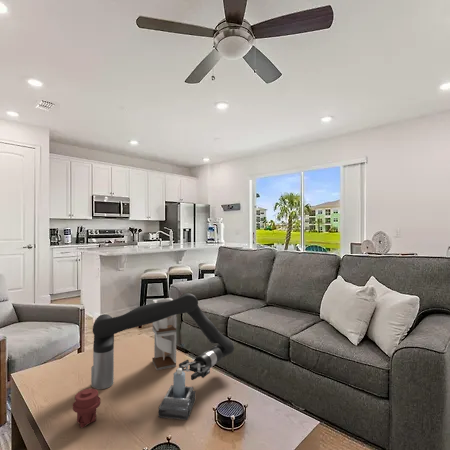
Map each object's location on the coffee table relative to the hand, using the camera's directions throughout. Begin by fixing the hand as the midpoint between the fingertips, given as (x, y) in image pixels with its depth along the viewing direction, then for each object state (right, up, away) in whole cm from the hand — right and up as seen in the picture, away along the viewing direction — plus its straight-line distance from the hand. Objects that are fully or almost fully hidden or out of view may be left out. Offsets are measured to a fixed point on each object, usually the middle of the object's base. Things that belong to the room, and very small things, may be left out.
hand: (184, 375), depth 135 cm
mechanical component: (-37, -12, -14) cm, 41 cm away
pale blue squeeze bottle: (-2, -8, -2) cm, 9 cm away
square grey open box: (-2, -12, -4) cm, 13 cm away
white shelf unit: (-16, -12, +36) cm, 41 cm away
